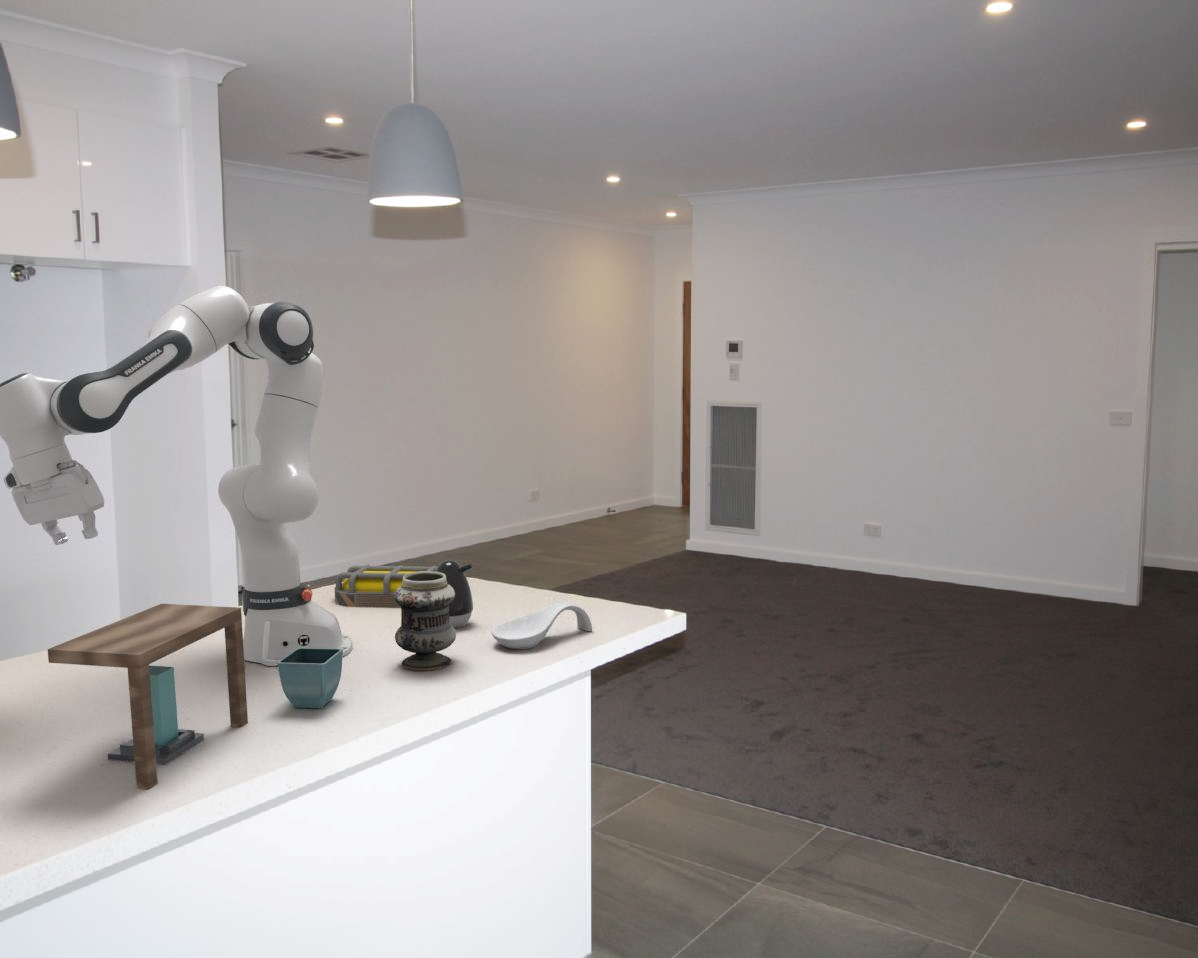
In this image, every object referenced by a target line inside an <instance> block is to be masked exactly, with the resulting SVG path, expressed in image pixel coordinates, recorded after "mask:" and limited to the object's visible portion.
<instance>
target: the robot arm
mask: <svg viewBox="0 0 1198 958" xmlns="http://www.w3.org/2000/svg"><path fill="white" fill-rule="evenodd" d="M148 329H149V330H148V336H147V337H148V339H147V340H146V342H145V343H144V344H143V345H141V347H139V348H138V349H136V350H135V351H133V352H132V353H130V354H129V355H127V356H126V357H125V358H123V359H122V360H120V361H118V362H117V363H116V364H114V365H112V366H111V367H109V368H107V369H104V370H101V371H95V372H94V371H93V372H88V373H83V374H79V375H77V376H76V377H75V376H74V377H73V378H71V379H70V380H66V379H54V378H46V377H41V376H38V375H35V374H32V373H30V372H24V373H23V372H22V373H20V374H18V375H14V376H13V377H11V378H9V379H6V380H5V381H3V382H1V383H0V438H1V439H2V440H3V441H4V443H5V444H6V445H7V448H8V450H9V451H8V452H9V459H10V462H11V464H12V467H11V469H10V470H9V472H7V474H6V475H5V476H4V477H3V483H4V484H5V487H6V488H7V489H9V490H11V496H12V498H13V500H14V503H15V506H16V508H17V509H18V512H19V514H20V515H21V517H22V519H23V520H24V521H25V522H26V523H27V524H28V525H29V526H34V525H39V524H40V525H41V526H42V528H43V530H44V531H45V532H46V533H47V534H48V535H49V536H50V537H51V539H52V541H53V544H54V545H56V546H58V545H59V546H60V545H64V544H65V543H68V542H69V541H68V540H69V538H68V537H67V534H66V532H63V531H62V530H61V529H60V527H59V526H58V524H59V522H58V520H61V519H67V518H71V517H75V516H77V518H78V520H79V521H80V522H82V523H81V524H82V530H81V534H82V535H83V538H84V539H85V540H90V539H93V538H96V537H98V536H99V532H98V530H97V527H96V514H95V511H97V510H100V509H102V508H104V506H105V498H104V495H103V493H102V491H101V490H100V487H99V485H98V484H97V482H96V479H95V478H94V476H93V475H92V473H91V471H89V470H88V469H87V468H86V467H85V466H84V465H83V464H81V463H79V462H78V461H77V460H75V459H73V458H72V455H71V453H70V451H69V448H68V447H67V444H66V441H65V437H66V436H68V435H69V436H81V435H88V434H97V433H98V434H99V433H104V432H106V431H108V430H110V429H112V428H113V427H114V426H116V425H117V424H118V423H119V422H120V421H121V419H122V418H123V417H124V415H125V413H126V411H127V409H128V408H129V406H130V404H131V402H132V401H133V400H134V399H136V397H138V396H139V395H140V394H142V393H143V392H144V391H146V390H147V389H149V388H150V387H151V386H153V385H155V384H156V383H157V382H158V381H160V380H161V379H163V378H164V377H165V376H167V375H169V374H171V373H173V372H176V371H184V370H185V369H188V368H191V367H193V366H195V365H197V364H199V363H201V362H203V361H205V360H206V359H208V358H210V357H211V356H212V355H214V354H216V353H217V352H218V351H220V350H221V349H222V348H223V347H225V346H226V345H229V346H230V347H231V348H232V349H233V350H234V352H236V353H237V354H238V355H240V356H242V357H243V358H247V359H248V360H249V359H250V360H265V362H266V366H267V371H268V372H267V373H268V378H267V383H266V384H265V389H264V392H263V396H262V401H261V403H260V406H259V411H258V416H257V420H256V422H255V427H254V433H255V437H256V438H257V440H258V443H259V448H260V463H259V464H256V463H255V464H253V463H248V464H244V465H240V466H239V465H238V466H235V467H232V468H230V469H229V470H227V471H226V472H224V474H223V475H222V477H220V481H219V482H218V487H217V488H218V496H219V499H220V501H221V503H222V505H223V506H224V507H225V508H226V510H227V512H228V513H229V516H230V518H231V521H232V524H233V526H234V530H235V533H236V535H237V539H238V542H239V545H240V551H241V559H242V561H241V562H242V570H243V572H242V573H243V583H244V584H243V588H242V590H241V591H242V593H241V603H242V612H243V615H244V629H243V648H244V661H247V662H251V663H259V664H262V665H265V666H267V667H273V666H274V667H276V666H278V665H277V662H278V661H280V660H281V659H283V658H284V657H286V656H287V655H288V654H290V653H291V652H293V651H294V650H295V649H297V648H330V649H331V648H333V649H334V648H335V649H343V656H342V657H344V656H347V655H348V654H349V653H351V651H352V649H353V646H354V645H353V640H352V637H350V636H349V635H346V634H344V633H342V630H341V629H342V628H341V626H340V622H339V620H338V618H337V617H336V615H335V614H333V613H332V612H330V611H329V610H327V609H326V608H324V607H322V606H321V605H319V604H317V603H316V602H315V601H313V600H312V599H313V598H312V597H313V591H312V588H311V586H310V584H305V583H303V582H301V565H300V550H299V547H298V544H297V543H296V541H295V539H293V536H291V533H290V532H289V529H288V527H287V524H289V523H296V522H300V521H304V520H306V519H307V518H309V517H310V516H312V514H313V513H314V512H315V511H316V508H317V506H318V502H319V497H320V496H319V494H320V493H319V489H318V486H317V484H316V482H315V481H314V478H313V476H312V473H311V464H310V463H311V461H310V448H311V447H310V446H311V439H312V435H313V430H314V426H315V422H316V419H317V414H318V410H319V405H320V401H321V396H322V388H323V382H324V381H323V379H324V366H323V363H322V361H321V359H320V358H319V357H318V356H317V355H316V354H314V353H313V351H314V348H315V345H314V344H315V343H314V340H313V339H314V328H313V323H312V320H311V317H310V315H309V314H308V312H307V311H305V309H304V308H302V307H301V306H299V305H297V304H295V303H291V302H288V301H279V302H266V303H260V304H258V305H252V306H251V305H249V304H248V303H247V302H246V301H245V299H244V298H243V296H242V295H241V294H240V293H239V292H237V291H236V290H235V289H233V288H231V287H229V286H226V285H216V286H214V287H211V288H208V289H206V290H203V291H201V292H199V293H197V294H194V295H192V296H190V297H189V298H186V299H185V300H183V301H181V302H180V303H178V304H176V305H174V307H172V308H170V309H169V310H167V312H165V313H164V314H163V315H161V316H160V317H159V318H158V319H157V320H156V321H155V322H154V323H153V324H152V325H151V326H150V327H149V328H148Z"/></svg>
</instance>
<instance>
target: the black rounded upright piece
mask: <svg viewBox="0 0 1198 958" xmlns="http://www.w3.org/2000/svg"><path fill="white" fill-rule="evenodd" d="M471 569H473V565H472V564H471V563H468V564H465V565H462V566H461V565H460V563H459V562H457V561H456V560H453V559H446V560H443V561H441V562H440V563H439V565H438V566H437V569H436V571H435V572H441V573H444V574H445V575H446V581H447V584H449V585H450V586H451V587H452V588H453V589H454V592H455V597H454V599H453V601H452V602H451V603H450V604H449V621H450V625H451V626H452V627H453V628H454V629H458V628H461V627H463V626H465V625H466V624H467V623H468V621H470V619H471V617H472V613H473V611H474V601H473V596H472V591H471V587H470V583H469V580H468V578H467V576H466V574H465V572H467V571H469V570H471Z"/></svg>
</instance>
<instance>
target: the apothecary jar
mask: <svg viewBox="0 0 1198 958" xmlns="http://www.w3.org/2000/svg"><path fill="white" fill-rule="evenodd" d="M394 597H395V601H396V602H397V604H399V605H400V606H401V608H400V609H401V610H400V611H401V612H400V613H401V614H400V617H401V618H400V619H401V620H400V623H401V624H400V626H399V627H398V628H397V630H396V632H395V635H394V641H395V643H396V645H397V646H398V647H399V648H401V649H402V650H404V651H406V652H408V653H413V654H411V655H409V656H407V657H405V658H404V659H403V660H402V661H401V663H400V664H401V666H402V667H403V669H407V670H409V671H414V672H415V671H416V672H417V671H419V672H427V671H428V672H429V671H437V670H441V669H443V668H444V667H446V666H450V665H451V663H452V659H451V658H450V657H449V656H448V655H444V654H442V653H439V652H440V651H443V650H446V649H448V648H450V647H451V646H452V645H453V644H454V642H455V641H456V638H457V631H456V628H453V627H452V626H451V625H450V621H449V604H450V603H451V602H452V601H453V599H454V597H455V592H454V589H453V588H452V587H451V586H450V585H449V584H447V581H446V575H445V574H444V573H441V572H434V571H419V572H413V573H409V574H406V575H404V576H403V581H402V585H401V586H400V587H399V588H398V589H397V590H396V592H395V596H394Z"/></svg>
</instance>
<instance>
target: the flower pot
mask: <svg viewBox="0 0 1198 958" xmlns="http://www.w3.org/2000/svg"><path fill="white" fill-rule="evenodd" d="M343 657H344V656H343V649H335V648H334V649H333V648H331V649H330V648H297V649H295V650H294V651H293V652H291V653H290V654H288V655H287V656H286V657H284V658H283V659H281V660H280V661H278V662H277V665H276V666H277V669H278V675H279V680H280V685H281V687H282V688H281V689H282V691H283V693H284V695H285V696H286V697H285V698H286V699H287V700H288V701H289V703H291V705H292V706H293V707H294V708H297V709H299V708H301V709H322V708H323V707H324V706H326V705H327V704H328V703H329V702H330V701H331V700H332V699H333V698H334V696H335V693H336V692H337V689H338V687H339V685H340V681H341V677H342V667H343Z"/></svg>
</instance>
